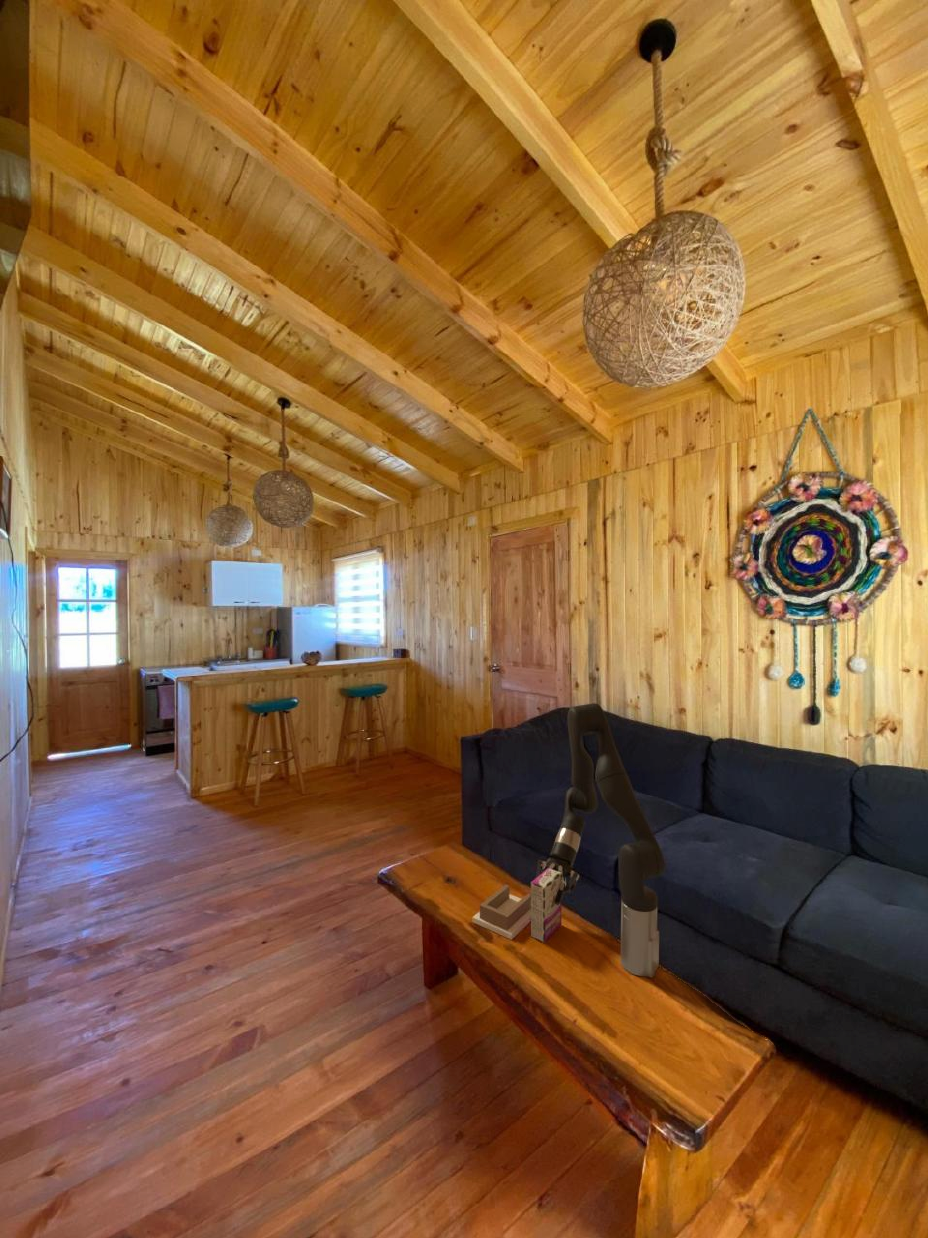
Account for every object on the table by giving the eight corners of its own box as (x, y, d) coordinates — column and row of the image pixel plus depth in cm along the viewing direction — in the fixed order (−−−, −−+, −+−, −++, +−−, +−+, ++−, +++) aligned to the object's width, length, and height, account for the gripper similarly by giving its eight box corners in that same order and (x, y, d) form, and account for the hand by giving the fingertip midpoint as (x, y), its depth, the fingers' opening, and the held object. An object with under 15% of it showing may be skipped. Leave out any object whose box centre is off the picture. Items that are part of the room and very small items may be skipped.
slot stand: (540, 911, 164) (540, 894, 164) (511, 940, 149) (511, 921, 149) (503, 896, 172) (503, 880, 172) (472, 922, 158) (472, 904, 158)
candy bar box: (547, 919, 160) (547, 867, 160) (561, 925, 157) (562, 872, 157) (529, 937, 151) (529, 881, 151) (544, 943, 148) (545, 887, 148)
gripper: (542, 835, 166) (522, 888, 157) (583, 848, 158) (566, 904, 148) (549, 845, 171) (531, 897, 161) (590, 858, 162) (573, 914, 153)
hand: (548, 900), depth 155 cm, fingers open, 5 cm apart
